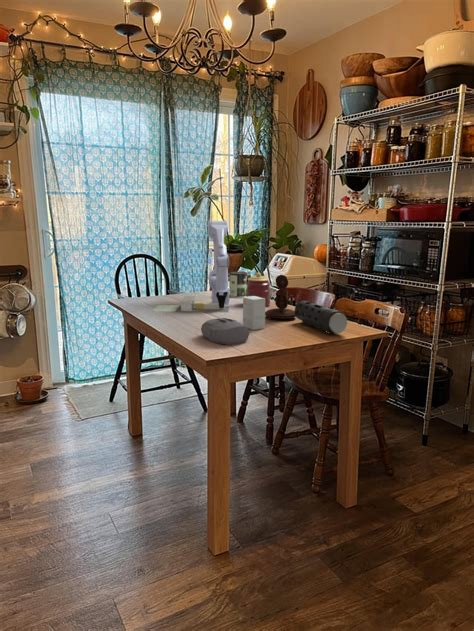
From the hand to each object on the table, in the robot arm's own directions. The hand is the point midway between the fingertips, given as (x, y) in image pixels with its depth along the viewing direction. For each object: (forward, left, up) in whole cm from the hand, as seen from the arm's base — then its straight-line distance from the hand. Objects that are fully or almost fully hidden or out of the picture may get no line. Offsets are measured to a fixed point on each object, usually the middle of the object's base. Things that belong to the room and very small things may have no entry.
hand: (221, 307), depth 245 cm
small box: (-16, +37, -2) cm, 40 cm away
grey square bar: (+17, 0, -1) cm, 17 cm away
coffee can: (-8, -40, -2) cm, 41 cm away
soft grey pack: (-3, +57, -2) cm, 57 cm away
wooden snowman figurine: (-28, +17, -2) cm, 33 cm away
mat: (+14, 0, -1) cm, 15 cm away
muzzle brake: (-44, +38, -2) cm, 58 cm away
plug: (+6, 0, -1) cm, 7 cm away
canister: (-18, -13, -2) cm, 23 cm away
